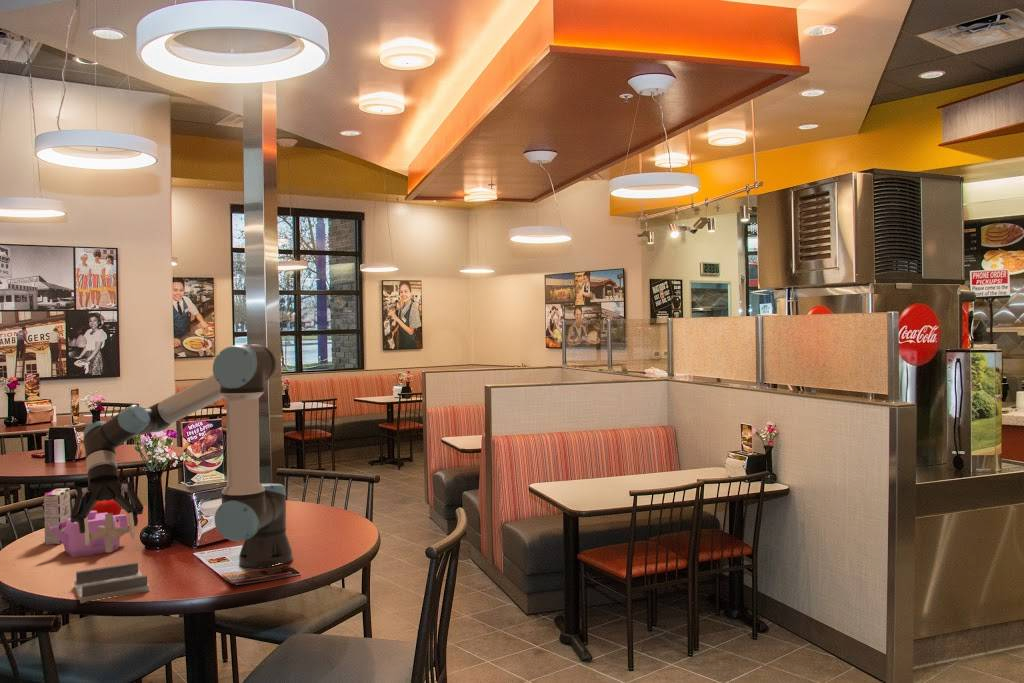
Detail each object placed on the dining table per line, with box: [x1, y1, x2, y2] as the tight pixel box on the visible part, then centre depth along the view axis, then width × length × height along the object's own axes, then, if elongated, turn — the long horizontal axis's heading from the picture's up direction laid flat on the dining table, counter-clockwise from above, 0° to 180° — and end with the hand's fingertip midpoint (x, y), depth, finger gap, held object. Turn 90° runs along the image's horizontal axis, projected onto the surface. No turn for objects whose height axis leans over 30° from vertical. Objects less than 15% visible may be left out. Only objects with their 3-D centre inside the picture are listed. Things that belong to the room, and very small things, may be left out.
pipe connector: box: [89, 513, 130, 553], centre depth 206 cm, size 10×10×10 cm
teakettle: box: [50, 511, 129, 558], centre depth 244 cm, size 17×17×12 cm
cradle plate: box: [73, 561, 150, 604], centre depth 206 cm, size 16×16×4 cm
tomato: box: [91, 499, 122, 515], centre depth 283 cm, size 9×10×8 cm
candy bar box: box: [43, 487, 72, 546], centre depth 256 cm, size 11×5×16 cm, turn 14°
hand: (110, 539), depth 203 cm, fingers closed on pipe connector, 10 cm apart
